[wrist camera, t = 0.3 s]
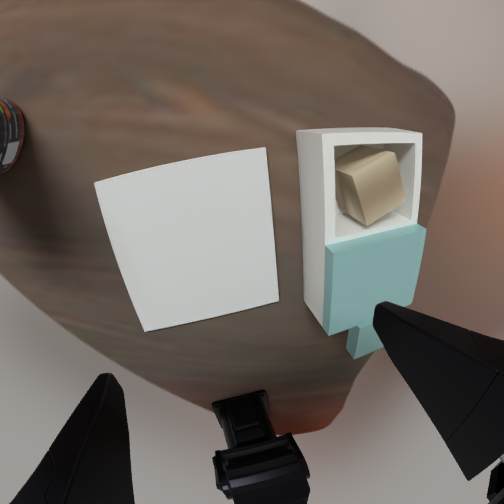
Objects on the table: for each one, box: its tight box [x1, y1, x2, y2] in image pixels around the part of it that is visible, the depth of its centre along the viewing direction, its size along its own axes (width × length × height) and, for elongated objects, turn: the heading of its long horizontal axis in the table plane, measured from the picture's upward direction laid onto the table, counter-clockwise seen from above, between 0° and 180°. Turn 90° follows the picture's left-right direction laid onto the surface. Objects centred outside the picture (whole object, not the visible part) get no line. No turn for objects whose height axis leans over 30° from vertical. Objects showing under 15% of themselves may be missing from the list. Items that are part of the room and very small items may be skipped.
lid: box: [322, 224, 426, 359], centre depth 22 cm, size 12×9×2 cm
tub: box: [296, 127, 422, 326], centre depth 22 cm, size 15×9×4 cm, turn 7°
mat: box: [94, 147, 279, 332], centre depth 21 cm, size 13×12×1 cm
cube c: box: [334, 145, 406, 226], centre depth 20 cm, size 4×4×4 cm
